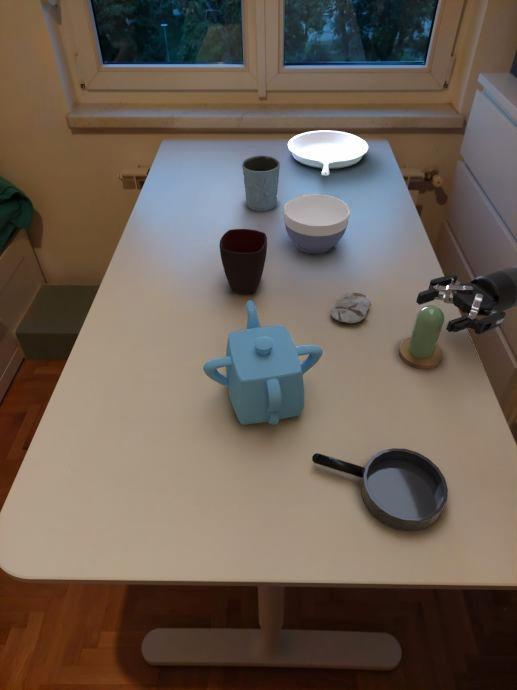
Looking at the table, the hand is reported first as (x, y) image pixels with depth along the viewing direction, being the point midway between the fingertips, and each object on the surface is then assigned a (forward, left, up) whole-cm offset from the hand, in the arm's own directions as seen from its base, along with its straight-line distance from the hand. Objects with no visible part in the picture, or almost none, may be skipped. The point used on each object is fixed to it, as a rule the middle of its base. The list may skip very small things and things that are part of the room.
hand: (432, 313), depth 90 cm
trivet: (0, 0, -10) cm, 10 cm away
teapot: (+26, +20, -10) cm, 34 cm away
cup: (+41, -10, -10) cm, 43 cm away
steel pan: (-1, +32, -10) cm, 33 cm away
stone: (+16, -7, -10) cm, 20 cm away
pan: (+41, -80, -10) cm, 90 cm away
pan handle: (+8, +32, -9) cm, 34 cm away
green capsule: (0, 0, -9) cm, 9 cm away
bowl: (+31, -31, -10) cm, 45 cm away
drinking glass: (+51, -46, -10) cm, 69 cm away
